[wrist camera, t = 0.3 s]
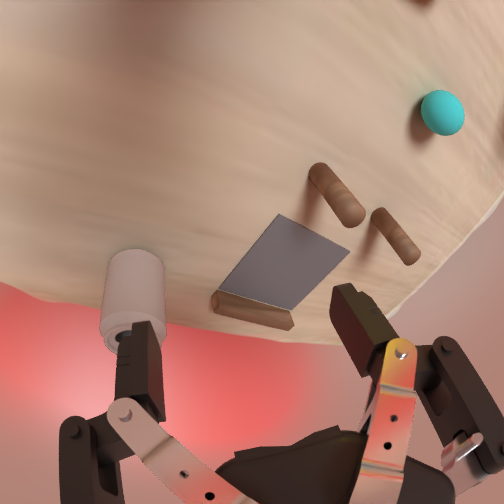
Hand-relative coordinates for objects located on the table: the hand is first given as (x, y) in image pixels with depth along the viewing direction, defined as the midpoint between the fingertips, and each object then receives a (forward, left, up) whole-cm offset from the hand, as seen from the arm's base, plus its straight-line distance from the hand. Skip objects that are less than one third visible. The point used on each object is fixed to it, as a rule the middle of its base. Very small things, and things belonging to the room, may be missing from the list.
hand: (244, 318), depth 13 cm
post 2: (-3, +26, -22) cm, 35 cm away
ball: (-19, +20, -19) cm, 34 cm away
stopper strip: (+20, +20, -22) cm, 36 cm away
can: (+19, +1, -22) cm, 30 cm away
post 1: (-3, +14, -22) cm, 26 cm away
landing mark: (+11, +20, -22) cm, 32 cm away
